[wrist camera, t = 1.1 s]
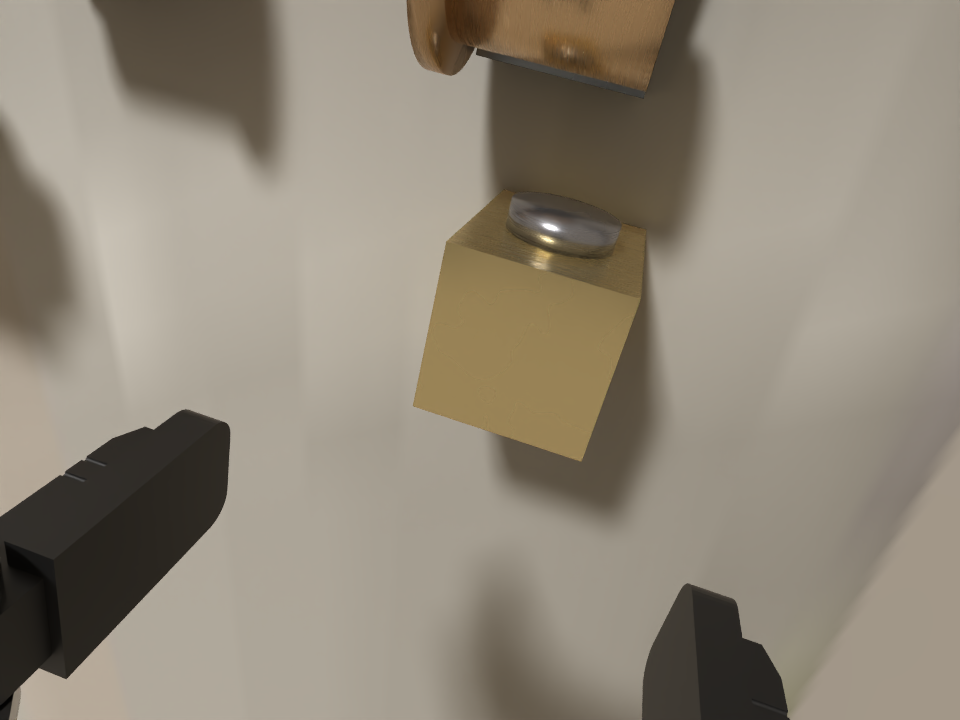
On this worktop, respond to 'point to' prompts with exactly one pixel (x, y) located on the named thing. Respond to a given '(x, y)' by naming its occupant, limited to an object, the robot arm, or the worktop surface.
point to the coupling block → (532, 319)
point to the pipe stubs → (545, 37)
